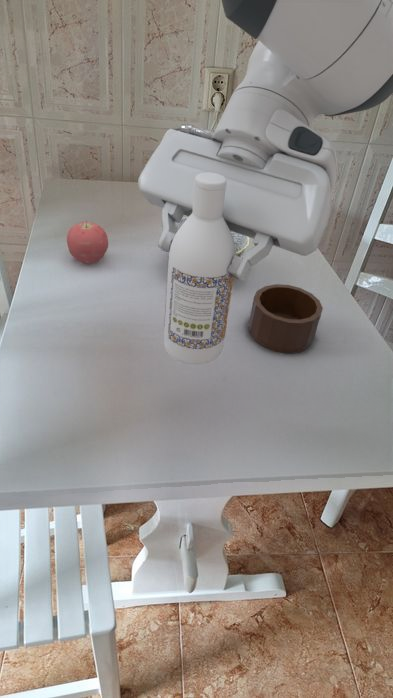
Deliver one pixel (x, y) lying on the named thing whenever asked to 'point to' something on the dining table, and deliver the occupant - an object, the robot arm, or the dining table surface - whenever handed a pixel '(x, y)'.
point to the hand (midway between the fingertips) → (199, 263)
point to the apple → (87, 242)
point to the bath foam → (200, 277)
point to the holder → (284, 318)
